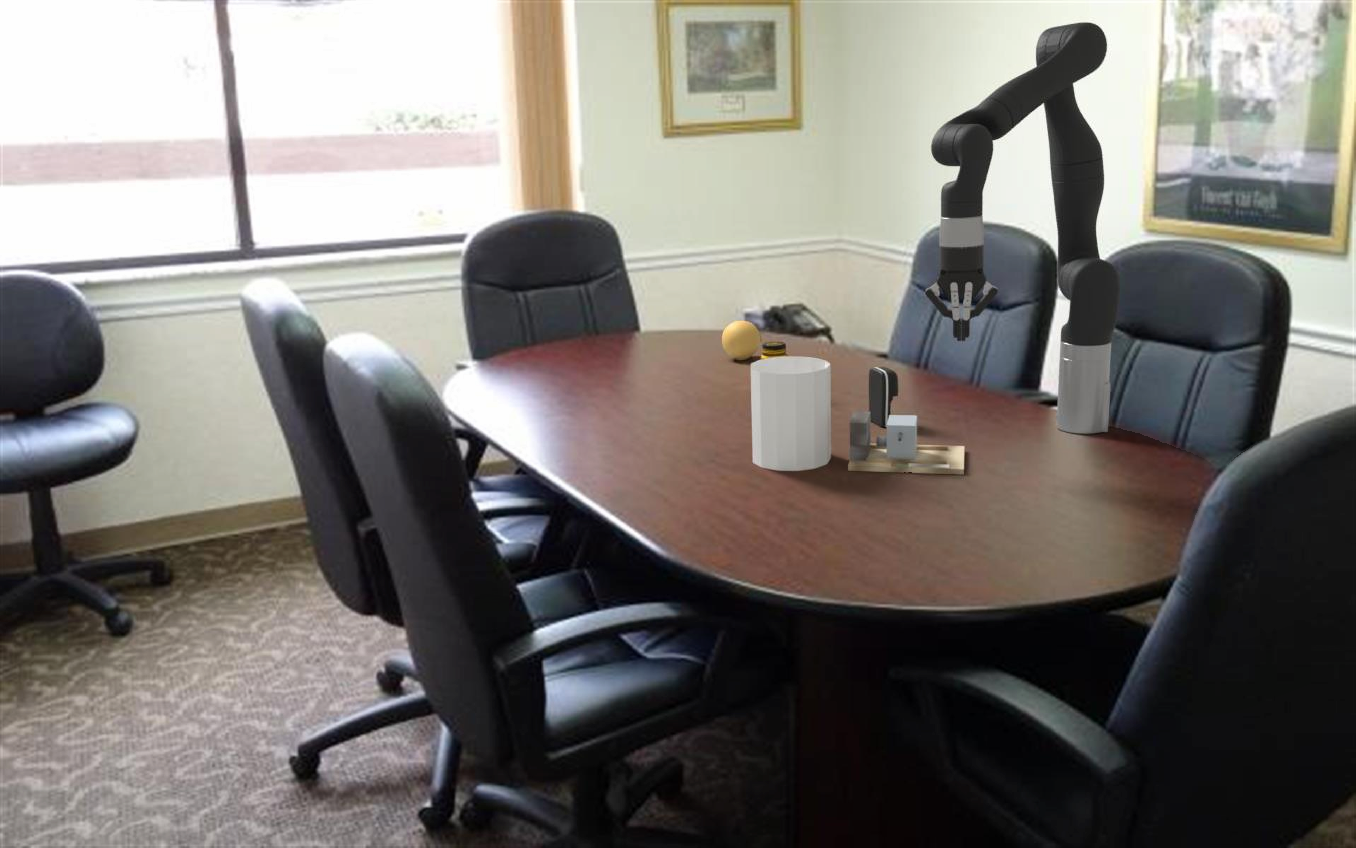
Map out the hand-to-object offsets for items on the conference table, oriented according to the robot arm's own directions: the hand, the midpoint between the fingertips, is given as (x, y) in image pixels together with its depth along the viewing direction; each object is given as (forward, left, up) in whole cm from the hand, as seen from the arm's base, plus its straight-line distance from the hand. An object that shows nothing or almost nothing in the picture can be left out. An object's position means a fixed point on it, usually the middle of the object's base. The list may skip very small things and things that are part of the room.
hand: (960, 340), depth 211 cm
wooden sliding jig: (+9, +3, -22) cm, 24 cm away
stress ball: (+55, -80, -22) cm, 99 cm away
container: (+30, +4, -22) cm, 37 cm away
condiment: (+41, -44, -22) cm, 64 cm away
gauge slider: (+11, +5, -21) cm, 24 cm away
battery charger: (+15, -22, -22) cm, 34 cm away
